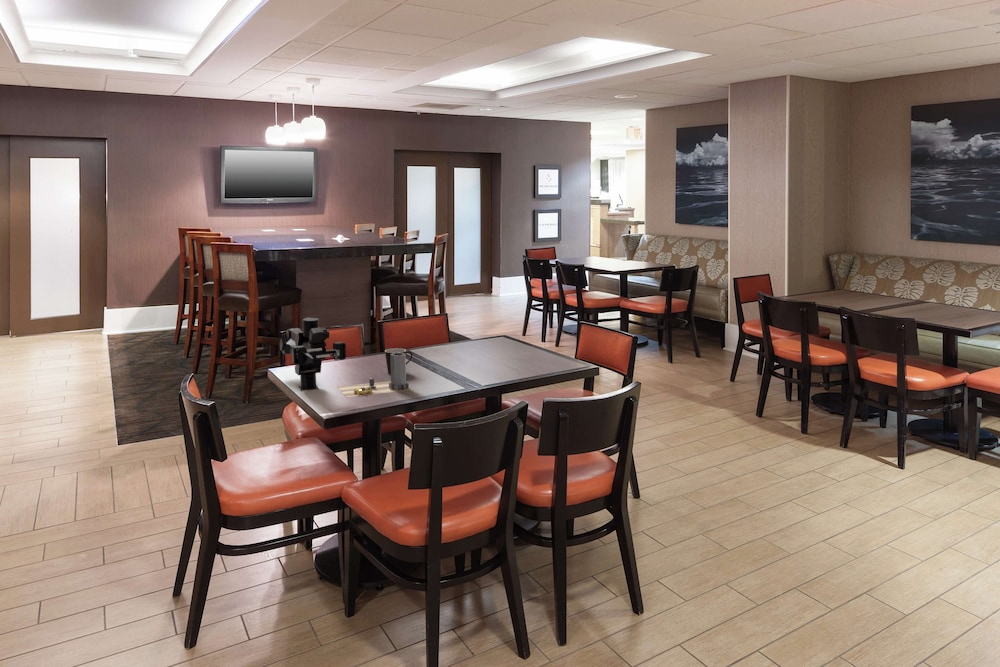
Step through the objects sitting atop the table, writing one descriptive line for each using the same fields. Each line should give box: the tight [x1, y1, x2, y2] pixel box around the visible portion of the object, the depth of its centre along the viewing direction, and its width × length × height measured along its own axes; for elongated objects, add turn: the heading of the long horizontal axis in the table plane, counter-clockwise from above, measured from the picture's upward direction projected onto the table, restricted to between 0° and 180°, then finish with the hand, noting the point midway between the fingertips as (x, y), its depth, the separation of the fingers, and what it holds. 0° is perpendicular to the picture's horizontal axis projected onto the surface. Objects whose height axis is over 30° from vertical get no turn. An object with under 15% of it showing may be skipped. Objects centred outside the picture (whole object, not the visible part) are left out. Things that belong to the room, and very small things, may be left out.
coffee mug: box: [384, 348, 413, 376], centre depth 304 cm, size 12×9×10 cm
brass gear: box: [354, 387, 372, 396], centre depth 275 cm, size 7×7×2 cm
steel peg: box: [368, 377, 376, 389], centre depth 282 cm, size 3×3×4 cm
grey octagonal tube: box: [389, 353, 410, 391], centre depth 281 cm, size 7×7×13 cm
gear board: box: [337, 380, 413, 398], centre depth 281 cm, size 16×25×1 cm, turn 114°
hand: (326, 359), depth 258 cm, fingers open, 9 cm apart
